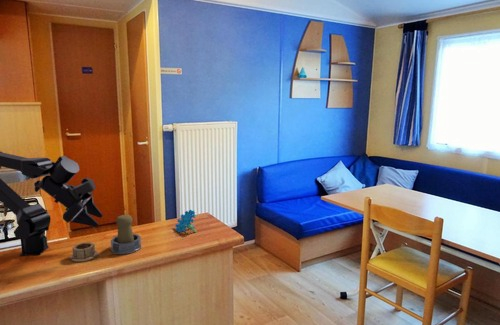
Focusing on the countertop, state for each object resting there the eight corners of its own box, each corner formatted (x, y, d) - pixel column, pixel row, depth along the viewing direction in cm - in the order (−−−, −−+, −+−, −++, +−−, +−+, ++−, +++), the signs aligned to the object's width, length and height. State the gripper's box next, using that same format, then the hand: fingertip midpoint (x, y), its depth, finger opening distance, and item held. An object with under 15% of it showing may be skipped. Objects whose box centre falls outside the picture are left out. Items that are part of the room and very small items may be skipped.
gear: (171, 223, 139) (189, 204, 140) (181, 231, 142) (199, 213, 143) (178, 236, 130) (196, 216, 131) (189, 244, 133) (207, 225, 133)
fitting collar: (107, 255, 114) (107, 244, 113) (115, 243, 123) (114, 234, 123) (138, 253, 115) (137, 243, 114) (143, 242, 124) (143, 232, 124)
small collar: (66, 262, 108) (65, 251, 108) (76, 252, 116) (75, 241, 116) (93, 261, 109) (92, 250, 109) (101, 250, 117) (100, 240, 117)
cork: (129, 251, 115) (127, 219, 114) (112, 249, 117) (110, 218, 115) (138, 244, 121) (136, 213, 119) (122, 242, 122) (120, 212, 121)
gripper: (71, 178, 102) (113, 211, 107) (83, 167, 120) (119, 196, 125) (43, 206, 102) (87, 238, 106) (60, 190, 120) (97, 218, 124)
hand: (99, 221), depth 115 cm, fingers open, 9 cm apart
